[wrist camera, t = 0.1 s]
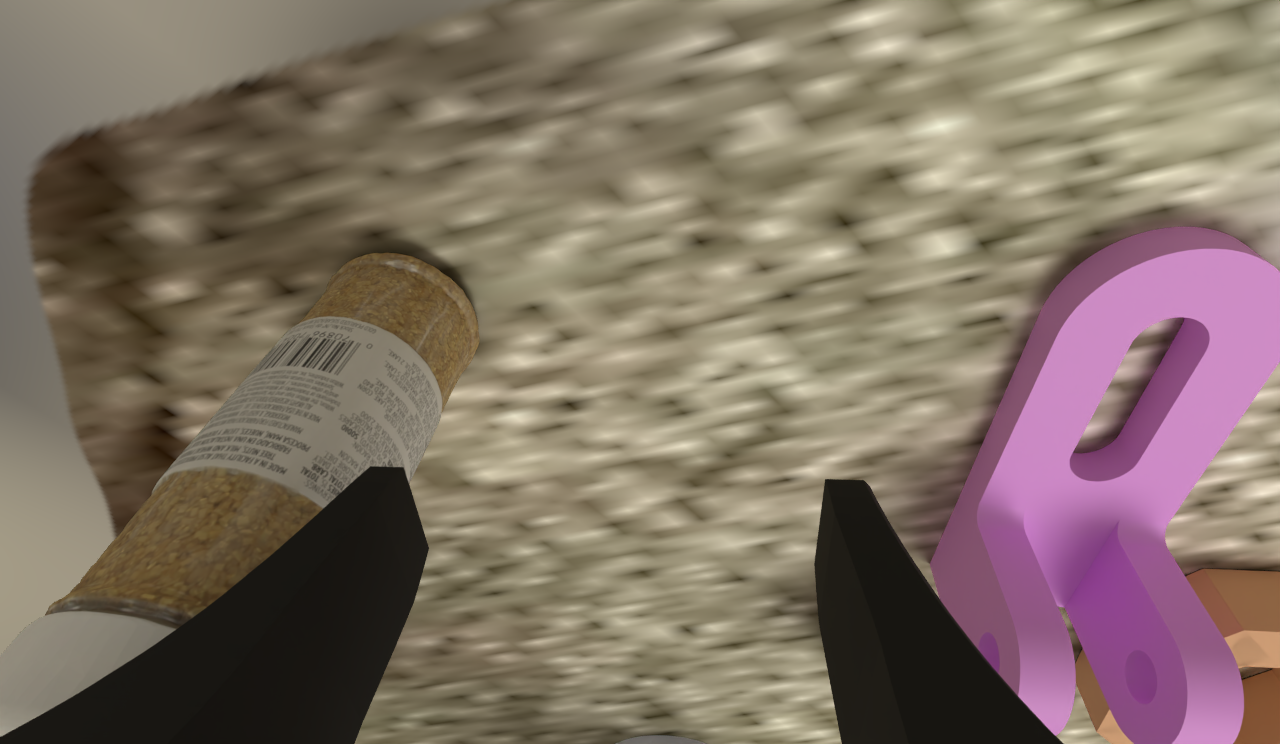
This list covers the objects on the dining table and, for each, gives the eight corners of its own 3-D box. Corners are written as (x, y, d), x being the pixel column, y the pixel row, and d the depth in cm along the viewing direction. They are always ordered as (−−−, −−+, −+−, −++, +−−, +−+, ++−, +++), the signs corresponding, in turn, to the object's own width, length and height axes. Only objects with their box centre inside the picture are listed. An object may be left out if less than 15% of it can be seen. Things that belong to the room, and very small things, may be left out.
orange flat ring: (1284, 721, 29) (1324, 784, 27) (1053, 708, 30) (1075, 768, 28) (1404, 576, 24) (1464, 640, 22) (1122, 565, 25) (1156, 625, 23)
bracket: (1090, 578, 26) (1192, 783, 20) (928, 560, 26) (985, 758, 20) (1309, 235, 18) (1571, 410, 13) (1079, 213, 18) (1235, 375, 13)
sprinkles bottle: (342, 361, 23) (0, 835, 13) (321, 231, 20) (-144, 704, 10) (486, 386, 23) (262, 885, 13) (485, 259, 20) (193, 767, 10)
